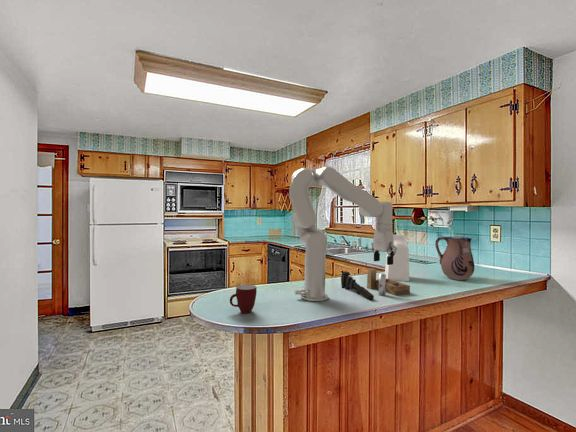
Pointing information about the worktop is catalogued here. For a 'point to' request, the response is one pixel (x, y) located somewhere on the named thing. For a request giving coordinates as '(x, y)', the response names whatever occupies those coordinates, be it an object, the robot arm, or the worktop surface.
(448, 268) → the ceramic pitcher
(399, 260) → the milk
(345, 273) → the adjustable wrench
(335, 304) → the worktop surface
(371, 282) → the square bit
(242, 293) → the mug
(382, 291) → the round bit
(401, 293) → the socket block
